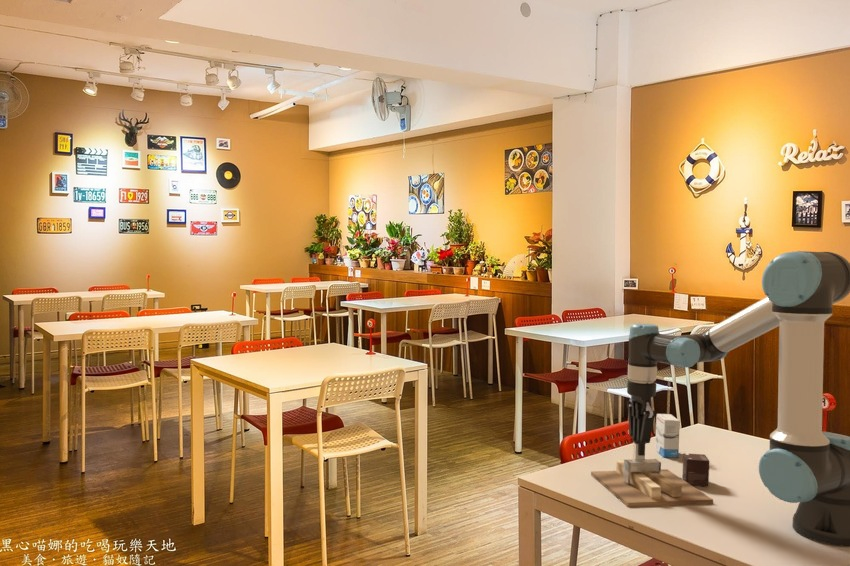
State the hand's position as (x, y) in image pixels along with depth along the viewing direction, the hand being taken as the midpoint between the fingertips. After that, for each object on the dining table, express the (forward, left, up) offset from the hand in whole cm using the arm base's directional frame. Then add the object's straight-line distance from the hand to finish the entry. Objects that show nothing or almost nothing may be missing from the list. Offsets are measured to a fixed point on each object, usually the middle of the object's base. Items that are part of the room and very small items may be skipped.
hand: (638, 465), depth 194 cm
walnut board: (-4, -1, -5) cm, 7 cm away
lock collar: (-2, 0, -4) cm, 4 cm away
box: (-1, -17, -5) cm, 17 cm away
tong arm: (-5, -3, -4) cm, 7 cm away
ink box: (+26, -22, -5) cm, 34 cm away
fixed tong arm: (-3, +2, -5) cm, 6 cm away
